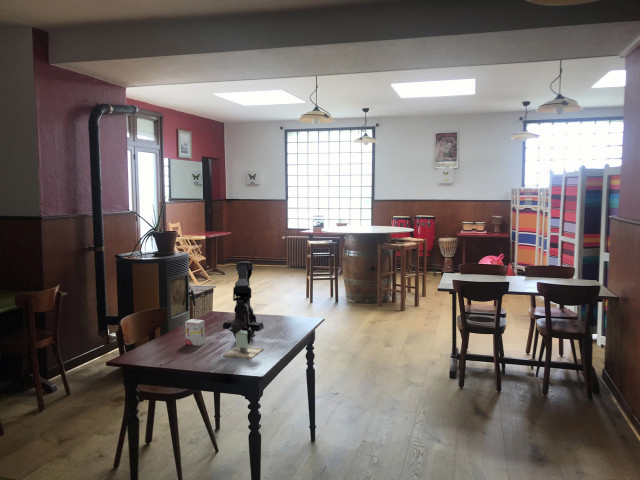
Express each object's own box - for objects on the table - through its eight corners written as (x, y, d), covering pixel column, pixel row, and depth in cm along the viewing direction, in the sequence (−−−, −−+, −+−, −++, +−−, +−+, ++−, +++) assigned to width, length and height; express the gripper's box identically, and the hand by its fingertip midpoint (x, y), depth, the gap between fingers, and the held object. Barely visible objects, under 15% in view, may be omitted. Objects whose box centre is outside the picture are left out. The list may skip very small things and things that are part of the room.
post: (242, 350, 245) (242, 337, 244) (247, 351, 244) (247, 337, 243) (240, 352, 242) (239, 338, 241) (245, 352, 241) (244, 339, 241)
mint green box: (241, 344, 246) (240, 330, 245) (251, 344, 244) (250, 331, 244) (236, 347, 241) (235, 333, 240) (246, 348, 239) (245, 334, 239)
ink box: (185, 344, 258) (184, 321, 257) (191, 341, 263) (190, 318, 261) (199, 346, 255) (198, 322, 254) (205, 343, 259) (204, 320, 258)
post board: (237, 347, 252) (237, 346, 252) (263, 349, 248) (263, 348, 248) (223, 356, 238) (223, 355, 238) (251, 358, 234) (251, 357, 234)
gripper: (216, 313, 236) (217, 347, 238) (253, 316, 231) (254, 350, 232) (227, 308, 247) (228, 340, 248) (263, 310, 241) (264, 343, 243)
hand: (243, 343), depth 243 cm, fingers closed on mint green box, 5 cm apart
